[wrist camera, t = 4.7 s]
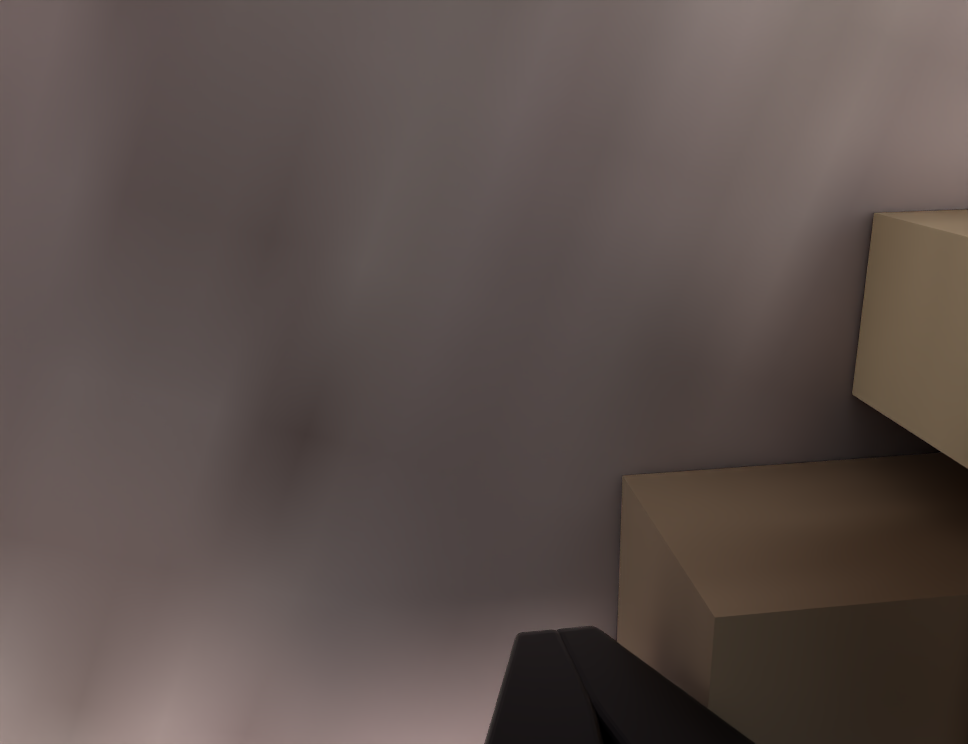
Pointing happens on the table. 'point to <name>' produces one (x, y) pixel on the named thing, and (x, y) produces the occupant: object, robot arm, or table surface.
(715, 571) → the block
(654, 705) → the robot arm
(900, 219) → the bearing block
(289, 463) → the table surface
